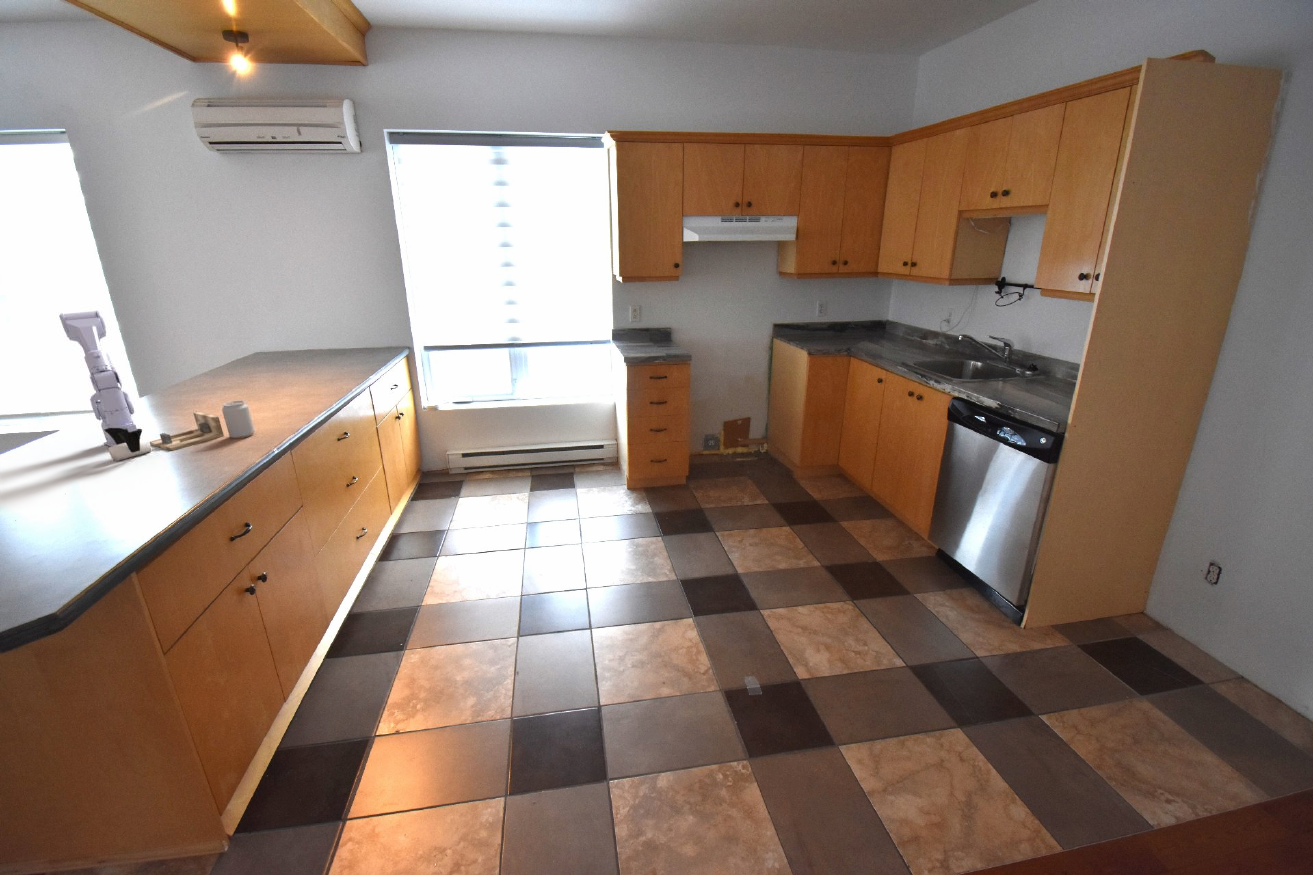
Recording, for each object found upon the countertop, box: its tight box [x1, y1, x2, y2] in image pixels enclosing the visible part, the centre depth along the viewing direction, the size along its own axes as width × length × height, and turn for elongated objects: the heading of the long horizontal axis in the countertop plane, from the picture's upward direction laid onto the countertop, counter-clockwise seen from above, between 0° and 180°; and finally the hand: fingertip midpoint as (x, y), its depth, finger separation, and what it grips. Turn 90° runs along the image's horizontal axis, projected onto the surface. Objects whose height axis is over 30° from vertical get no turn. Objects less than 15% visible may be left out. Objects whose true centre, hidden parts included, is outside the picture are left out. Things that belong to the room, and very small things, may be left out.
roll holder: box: [149, 411, 225, 452], centre depth 203 cm, size 14×16×7 cm
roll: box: [108, 437, 152, 462], centre depth 190 cm, size 5×9×5 cm, turn 153°
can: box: [221, 400, 255, 439], centre depth 206 cm, size 8×8×12 cm
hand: (129, 449), depth 190 cm, fingers open, 7 cm apart
